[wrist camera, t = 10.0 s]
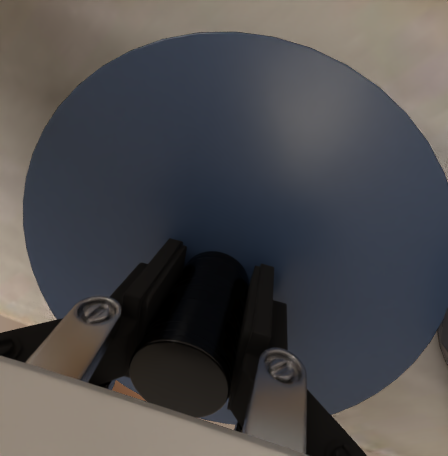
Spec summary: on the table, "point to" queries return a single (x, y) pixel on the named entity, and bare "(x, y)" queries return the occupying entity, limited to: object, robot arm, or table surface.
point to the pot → (444, 336)
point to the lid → (244, 213)
